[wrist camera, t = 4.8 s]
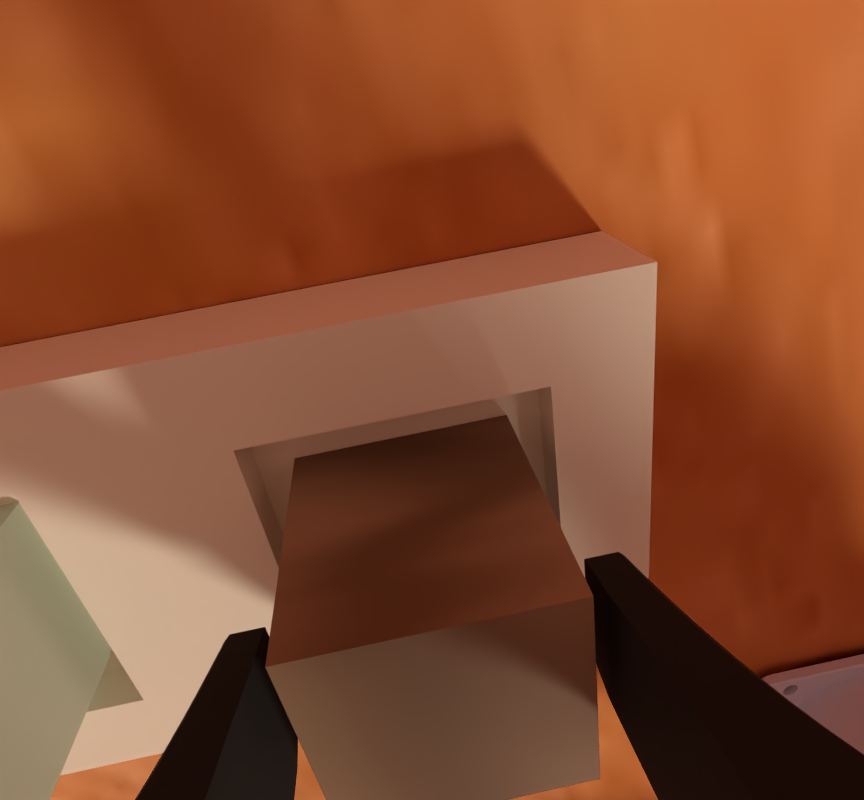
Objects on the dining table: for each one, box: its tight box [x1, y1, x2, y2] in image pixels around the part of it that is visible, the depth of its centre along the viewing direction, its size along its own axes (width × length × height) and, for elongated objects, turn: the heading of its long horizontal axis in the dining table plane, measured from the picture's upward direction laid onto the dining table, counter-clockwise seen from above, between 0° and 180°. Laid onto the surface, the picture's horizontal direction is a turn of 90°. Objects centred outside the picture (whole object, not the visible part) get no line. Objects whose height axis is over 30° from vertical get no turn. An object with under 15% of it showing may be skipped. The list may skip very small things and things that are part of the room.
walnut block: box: [265, 415, 600, 800], centre depth 11 cm, size 4×4×5 cm
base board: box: [0, 231, 657, 775], centre depth 13 cm, size 20×10×2 cm, turn 99°
